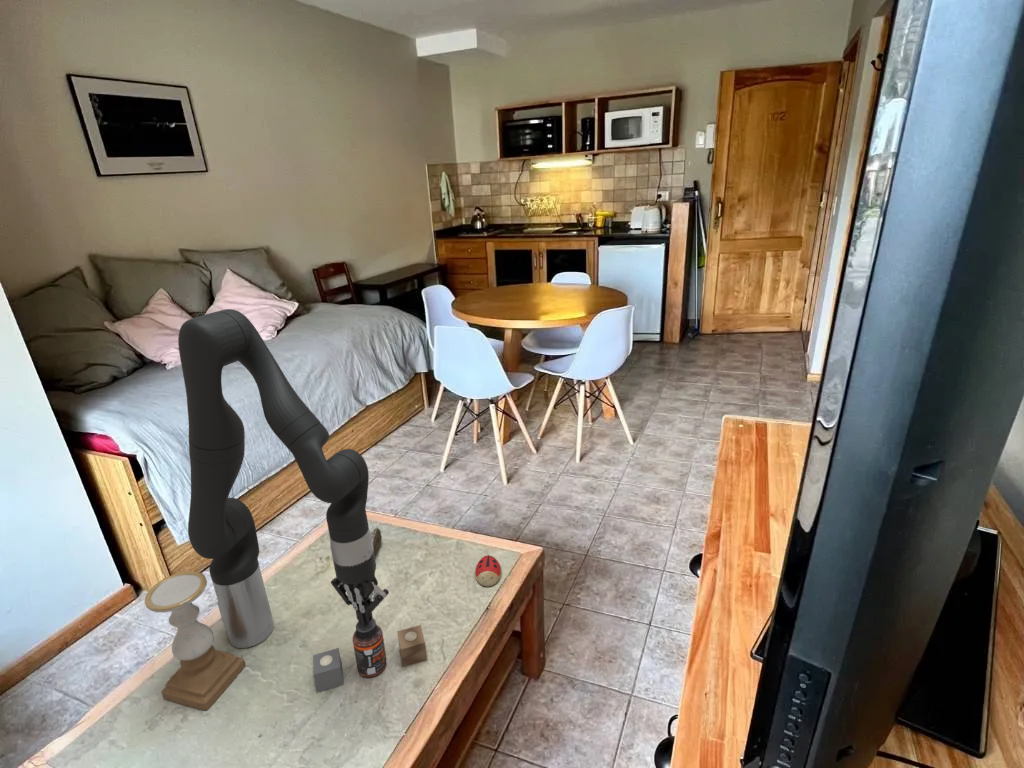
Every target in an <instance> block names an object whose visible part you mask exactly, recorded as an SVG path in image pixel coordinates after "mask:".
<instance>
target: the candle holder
mask: <svg viewBox="0 0 1024 768" xmlns="http://www.w3.org/2000/svg"><path fill="white" fill-rule="evenodd" d="M207 583H208V581H207V577H206V575H205V574H203V573H202V572H200V571H197V570H196V571H195V570H186V571H181V572H178V573H173V574H171V575H169V576H166V577H165V578H162V579H161V580H160V581H158V582H157V583H155V584H154V585H153V586H152V587H151V588H150V589H148V592H147V593H146V595H145V597H144V605H145V607H146V608H147V609H148V610H149V611H151V612H155V613H169V612H170V613H171V614H170V616H169V617H168V623H169V625H170V626H173V627H175V628H177V631H176V634H175V636H174V638H173V640H172V644H171V653H172V655H173V657H174V658H176V660H178V661H179V664H180V667H179V668H178V670H177V671H176V672H175V673H174V674H173V675H172V676H170V678H169V679H168V680H167V681H166V683H165V687H164V688H163V689H162V691H161V695H162V698H163V700H165V701H168V702H172V703H176V704H179V705H182V706H186V707H190V708H193V709H196V710H200V711H205V712H206V711H209V709H210V708H211V707H212V706H213V705H214V704H215V703H216V702H217V701H218V700H219V699H220V697H221V696H222V695H223V694H224V692H225V691H226V690H227V689H228V688H229V687H230V685H231V684H232V683H233V682H234V681H235V680H236V679H237V677H238V676H239V675H240V674H241V673H242V671H243V670H244V669H243V667H244V666H245V664H246V662H245V659H244V658H242V657H239V656H237V655H235V654H233V653H229V652H227V651H222V650H219V649H215V646H214V645H213V644H214V641H215V633H214V631H213V630H212V629H211V627H210V626H209V625H208V624H205V623H202V622H200V621H199V620H198V617H199V614H200V611H201V610H200V607H199V606H198V605H196V604H194V603H193V602H194V601H196V600H197V599H198V598H199V597H200V596H202V594H203V593H204V592H205V590H206V588H207ZM245 667H246V666H245ZM242 669H243V670H242ZM241 670H242V671H241ZM240 672H241V673H240ZM239 673H240V674H239ZM238 674H239V675H238ZM237 675H238V676H237ZM234 679H235V680H234Z"/></svg>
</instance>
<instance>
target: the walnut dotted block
mask: <svg viewBox="0 0 1024 768" xmlns="http://www.w3.org/2000/svg"><path fill="white" fill-rule="evenodd" d="M396 633H397V638H398V639H397V640H398V645H399V652H400V658H401V662H402V668H405V667H409V666H412V665H415V664H419V663H423V662H425V661H428V657H427V648H426V640H425V637H424V632H423V629H422V625H421V624H419V625H416V626H412V627H408V628H404V629H401V630H397V632H396Z"/></svg>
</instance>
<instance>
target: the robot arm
mask: <svg viewBox="0 0 1024 768" xmlns="http://www.w3.org/2000/svg"><path fill="white" fill-rule="evenodd" d="M177 343H178V344H177V345H178V353H179V359H180V365H181V370H182V375H183V380H184V381H183V382H184V387H185V395H186V404H187V406H186V407H187V420H188V448H189V449H188V451H189V452H188V453H189V463H190V501H189V502H190V503H189V513H188V523H187V535H188V539H189V542H190V544H191V546H192V548H193V550H194V551H195V552H196V553H197V554H198V555H199V556H200V557H202V558H204V559H207V560H210V559H211V563H210V565H209V575H210V578H211V582H212V585H213V589H214V592H215V596H216V598H217V607H218V611H219V614H220V617H221V620H222V624H223V628H224V630H225V634H226V636H227V637H228V641H229V642H230V644H231V646H232V647H235V648H237V649H247V648H251V646H252V647H254V646H257V645H259V644H261V643H262V642H263V641H265V640H266V639H268V637H269V636H270V635H271V634H272V632H273V630H274V628H275V626H274V625H275V624H274V619H273V616H272V610H271V606H270V603H269V602H270V601H269V598H268V595H267V591H266V587H265V582H264V579H263V575H262V571H261V567H260V564H259V563H260V562H259V560H258V559H259V555H260V546H259V540H258V534H257V529H256V528H257V527H256V523H255V520H254V516H253V514H252V512H251V509H249V508H248V506H247V504H245V503H244V502H243V501H242V500H240V499H238V498H236V497H229V496H230V493H231V491H232V489H233V486H234V484H235V482H236V480H237V479H238V476H239V473H240V471H241V468H242V465H243V462H244V459H245V450H246V449H245V446H246V445H245V443H246V442H245V441H246V440H245V439H246V437H245V435H246V434H245V426H244V422H243V421H242V419H241V417H240V416H239V414H238V413H237V411H235V410H234V408H233V407H232V406H231V404H230V403H228V401H227V400H226V398H225V397H224V394H223V386H222V373H223V369H224V367H226V366H229V365H231V364H233V363H236V362H239V363H240V364H241V365H242V366H243V367H244V368H245V369H246V370H247V371H248V373H250V375H251V376H252V378H253V379H254V381H255V384H256V386H257V390H258V393H259V397H260V403H261V407H262V411H263V415H264V418H265V421H266V422H267V424H268V426H269V427H270V429H271V430H272V432H273V433H274V435H275V436H276V437H277V438H278V439H279V440H280V442H281V443H283V445H284V446H285V447H286V448H287V450H289V452H290V453H291V454H292V456H293V457H294V460H295V462H296V464H297V466H298V468H299V470H300V473H301V474H302V477H303V479H304V481H305V482H306V485H307V487H308V489H309V491H310V492H311V494H312V495H314V497H316V498H317V499H318V500H320V501H321V502H324V503H327V504H329V506H328V508H327V510H326V513H325V514H326V516H325V518H326V525H327V527H328V528H327V529H328V533H329V544H330V545H329V546H330V550H331V557H332V562H333V568H334V572H335V575H336V576H335V577H334V578H332V580H331V581H330V584H331V585H332V587H333V588H334V590H336V591H337V594H338V595H339V596H340V597H341V599H342V600H343V601H344V603H345V604H346V605H347V606H352V609H353V610H354V611H355V615H356V619H357V622H358V621H359V624H361V625H363V626H366V625H367V624H368V623H369V622H370V621H371V620H372V619H374V617H373V612H374V610H375V609H376V608H377V607H378V606H379V605H380V604H381V603H382V602H383V601H384V599H386V597H387V596H389V594H390V593H389V590H388V589H387V588H384V589H381V587H379V585H378V584H379V582H378V580H377V577H376V570H377V562H376V556H375V553H374V548H373V542H372V537H371V533H372V532H371V530H370V528H369V527H370V526H369V521H368V520H369V519H368V516H367V512H366V511H367V510H366V507H367V501H368V500H367V499H368V491H369V479H370V478H369V469H368V465H367V462H366V460H365V458H364V457H363V455H361V454H360V453H359V452H358V451H357V450H355V449H351V448H345V449H341V450H339V451H337V452H336V453H334V454H333V455H332V456H330V457H329V458H328V459H326V456H325V454H324V451H323V447H324V446H325V445H326V444H327V442H328V440H329V439H330V433H329V431H328V430H327V428H326V427H325V426H324V424H323V423H322V422H321V421H320V420H319V419H318V418H317V416H316V415H315V414H314V412H312V410H311V409H310V408H309V407H308V406H307V404H305V402H304V401H303V400H302V399H301V397H300V396H299V395H298V394H297V392H296V391H295V389H294V388H293V387H292V385H291V383H290V381H289V380H288V378H287V377H286V375H285V374H284V371H282V368H281V367H280V365H279V364H278V362H277V360H276V359H275V357H274V355H273V354H272V352H271V350H270V349H269V348H268V346H267V344H266V342H265V341H264V339H263V337H262V335H261V334H260V333H259V331H258V329H256V327H255V326H254V324H253V323H252V321H251V320H250V319H249V318H248V317H247V316H246V315H245V314H243V313H242V312H240V311H239V310H236V309H230V308H229V309H221V310H217V311H214V312H213V311H212V312H210V313H205V314H202V315H200V316H199V315H198V316H196V317H195V316H194V317H192V318H189V319H187V320H186V321H184V322H183V324H182V325H180V328H179V330H178V340H177Z"/></svg>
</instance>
